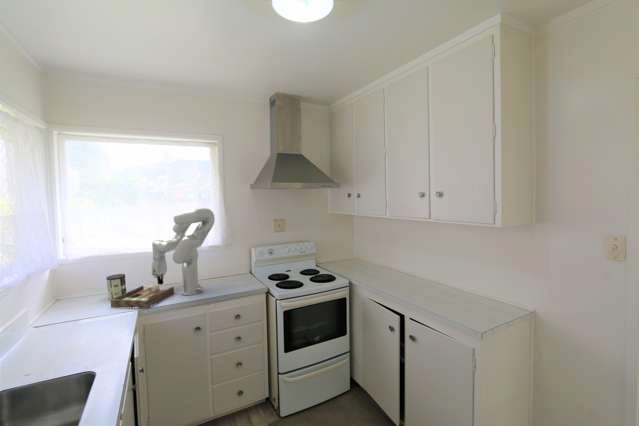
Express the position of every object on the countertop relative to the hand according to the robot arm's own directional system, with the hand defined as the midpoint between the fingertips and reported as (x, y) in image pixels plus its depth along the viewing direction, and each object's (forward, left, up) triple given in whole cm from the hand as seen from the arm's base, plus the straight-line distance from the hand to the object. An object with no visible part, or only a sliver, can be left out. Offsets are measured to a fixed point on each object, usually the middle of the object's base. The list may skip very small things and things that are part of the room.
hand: (160, 283), depth 203 cm
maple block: (-1, +8, -3) cm, 9 cm away
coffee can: (+22, +13, -5) cm, 26 cm away
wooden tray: (-1, +16, -5) cm, 17 cm away
